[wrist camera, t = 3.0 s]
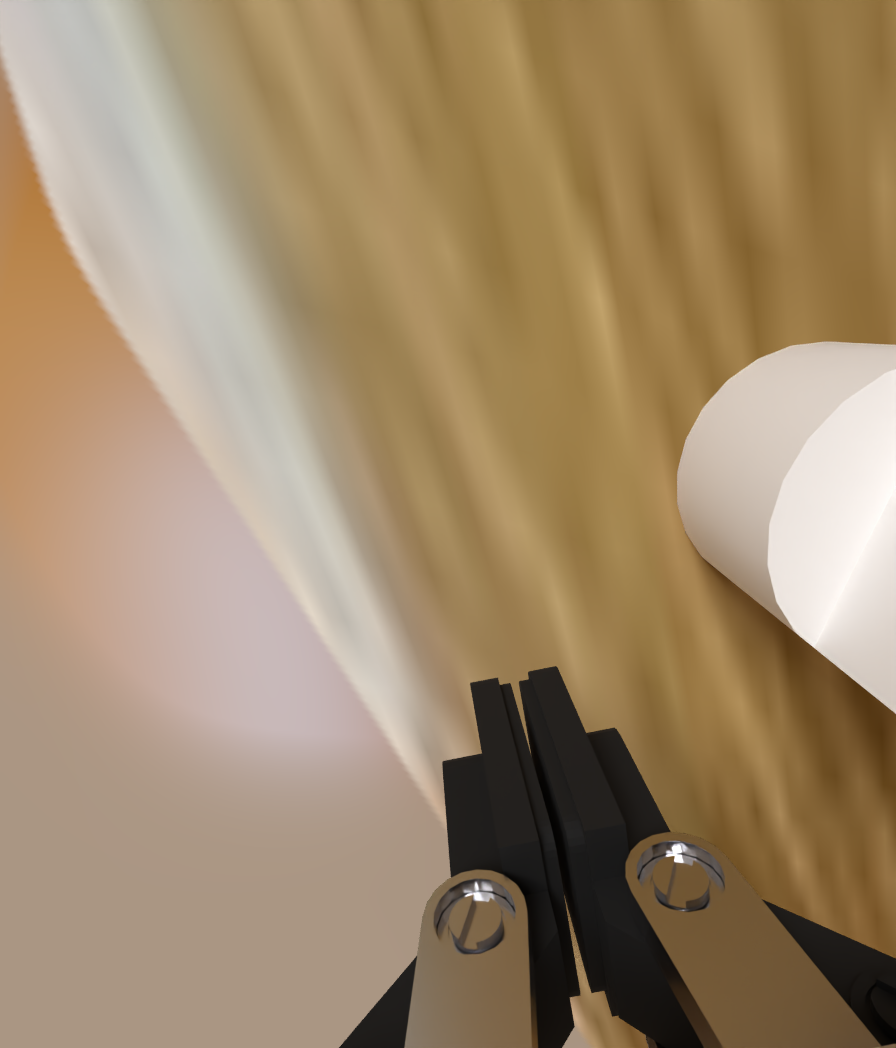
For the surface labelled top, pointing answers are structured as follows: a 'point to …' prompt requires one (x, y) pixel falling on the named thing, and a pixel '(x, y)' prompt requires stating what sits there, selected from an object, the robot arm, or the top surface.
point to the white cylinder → (805, 498)
